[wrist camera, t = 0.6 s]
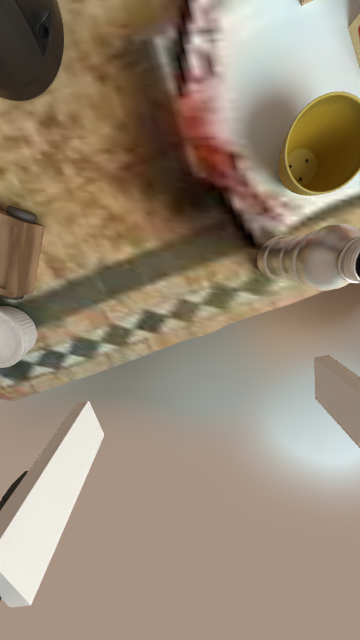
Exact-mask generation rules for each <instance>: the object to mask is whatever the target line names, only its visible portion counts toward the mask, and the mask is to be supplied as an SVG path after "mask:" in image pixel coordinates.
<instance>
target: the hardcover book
mask: <svg viewBox="0 0 360 640" xmlns="http://www.w3.org/2000/svg"><path fill="white" fill-rule="evenodd" d="M311 1H313V0H301V6H303V5H305V4H307V3H309V2H311Z"/></svg>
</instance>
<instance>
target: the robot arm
mask: <svg viewBox="0 0 360 640" xmlns="http://www.w3.org/2000/svg"><path fill="white" fill-rule="evenodd" d="M63 47H64V33H63V23H62V18H61V13H60V9H59V6H58V3H57V0H0V97H3V98H5V99H9V100H15V101H23V100H29V99H32V98H35V97H37V96H38V95H40V94H41V93H43V92H44V91H45V90H46V89H47V88H48V87H49V86H50V85H51V83H52V82H53V80H54V79H55V77H56V75H57V73H58V70H59V67H60V64H61V60H62V55H63ZM314 367H315V399H316V400H317V401H318V402H319V403H320V404H321V405H322V406H323V407H324V409H325V410H326V411H327V412H328V413H329V414H330V415H331V416H332V417H333V419H334V420H335V421H336V422H337V423H338V424H339V425H340V426H341V428H342V429H343V430H344V431H345V432H346V433H347V434H348V435H349V437H350V438H351V439H352V440H353V441H354V442H355V443H356V444H357V445H358V446H359V448H360V377H359V376H358V375H356V374H355V373H354V372H352V371H351V370H349V369H348V368H347V367H345V366H344V365H342V364H341V363H339V362H338V361H337V360H335V359H334V358H332V357H331V356H330V355H326V356H321V357H316V358H314ZM103 437H104V433H103V431H102V429H101V427H100V424H99V422H98V420H97V418H96V416H95V414H94V411H93V409H92V407H91V405H90V402H89V401H83V402H78V403H76V404H75V406H74V407H73V409H72V410H71V412H70V413H69V414H68V416H67V417H66V419H65V420H64V421H63V423H62V424H61V426H60V427H59V428H58V430H57V431H56V433H55V434H54V436H53V437H52V438H51V440H50V441H49V443H48V444H47V445H46V447H45V448H44V450H43V451H42V453H41V454H40V455H39V457H38V458H37V460H36V461H35V462H34V464H33V465H32V467H31V468H30V470H29V471H25V472H24V473H23V474H22V475H21V476H20V477H19V478H18V479H17V480H16V481H15V482H14V483H13V484H12V485H11V487H10V488H9V489H8V491H7V492H6V494H5V495H4V496H3V497H2V500H1V501H0V600H1V599H3V601H5V603H6V604H7V605H8V606H9V607H19V606H29V605H31V604H32V601H33V599H34V597H35V594H36V592H37V590H38V587H39V585H40V583H41V581H42V578H43V576H44V574H45V571H46V569H47V567H48V564H49V562H50V559H51V557H52V555H53V553H54V550H55V548H56V546H57V543H58V541H59V539H60V536H61V534H62V532H63V529H64V527H65V525H66V523H67V520H68V518H69V516H70V513H71V511H72V509H73V506H74V504H75V502H76V499H77V497H78V495H79V492H80V490H81V488H82V485H83V483H84V481H85V479H86V476H87V474H88V472H89V469H90V467H91V465H92V462H93V460H94V458H95V455H96V453H97V451H98V448H99V446H100V444H101V441H102V439H103Z"/></svg>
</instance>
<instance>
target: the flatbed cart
mask: <svg viewBox="0 0 360 640" xmlns="http://www.w3.org/2000/svg"><path fill="white" fill-rule="evenodd" d="M43 233H44V226H41V225H39V224H36V215H34V214H31V213H29V212H26V211H23V210H21V209H18V208H15V207H12V206H8V207H7V211H4V210H2V209H0V297H2V298H6V299H12V300H19V299H23V297H24V295H25V294H30V293H33V290H34V285H35V279H36V273H37V267H38V262H39V256H40V250H41V245H42V239H43Z"/></svg>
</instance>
